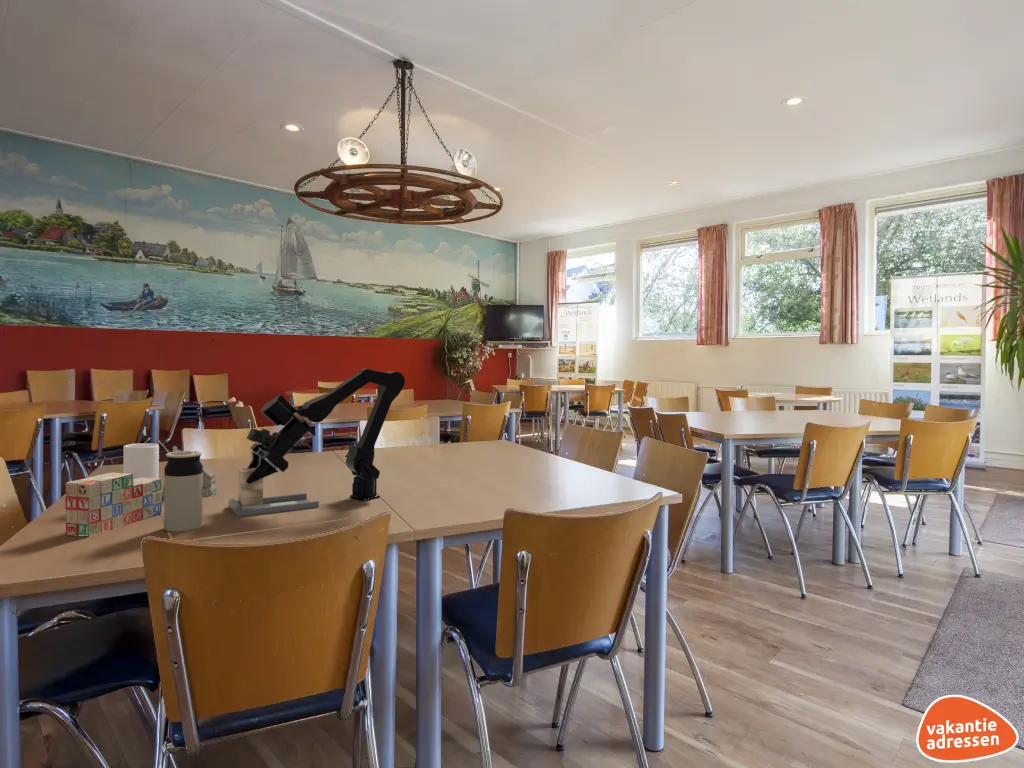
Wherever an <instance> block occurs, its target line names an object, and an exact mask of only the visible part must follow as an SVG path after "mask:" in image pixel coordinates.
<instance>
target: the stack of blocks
mask: <svg viewBox="0 0 1024 768" xmlns="http://www.w3.org/2000/svg"><path fill="white" fill-rule="evenodd" d="M162 493H163V490H162V478H159V479H156V478H137V479H133V474H128V473H123V472H107V473H102V474H98V475H94V476H90V477H86V478H81V479H76V480H70V481H67V482H65V500H64V501H65V502H64V503H65V521H66V522H65V535H66V534H72V535H88V536H90V535H93V534H96V533H99V532H103V531H107V530H110V531H112V530H111V529H113V530H115V529H114V528H117V529H119V528H118V527H120V528H122V527H121V526H123V527H125V526H128V525H131V524H134V523H137V522H139V521H140V522H141V521H143V520H145V519H149V518H153V517H155V516H158V515H159V516H160V515H161V514H162V513H163V512H162V511H163V510H162V509H163V508H162V507H163V506H162V504H163V503H162V502H163V497H162ZM136 521H137V522H136ZM133 522H134V523H133ZM130 523H131V524H130ZM127 524H128V525H127ZM124 525H125V526H124ZM107 532H108V531H107Z"/></svg>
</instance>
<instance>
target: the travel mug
mask: <svg viewBox="0 0 1024 768" xmlns="http://www.w3.org/2000/svg"><path fill="white" fill-rule="evenodd" d="M202 454H203V452H202V451H199V450H180V451H177V452H173V451H171V452H167V453H166V454H165V457H166V458H167V462H168V463H167V462H166V465H165V466H164V474H163V475H164V480H163V481H164V484H163V485H164V497H163V499H164V500H163V501H164V503H163V504H164V505H163V507H164V508H163V510H164V511H163V514H164V515H163V518H164V519H163V520H164V521H163V522H164V523H163V527H164V530H165V531H167V532H186V531H192V530H196V529H199V528H201V527H202V526H203V513H204V512H203V510H204V509H203V506H204V505H203V501H204V500H203V499H204V498H203V465H202V464H201V462H200V459H201V456H202Z"/></svg>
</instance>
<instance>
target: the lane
mask: <svg viewBox="0 0 1024 768" xmlns="http://www.w3.org/2000/svg"><path fill="white" fill-rule="evenodd" d="M307 497H308V496H307V492H301V493H294V494H293V493H291V494H284V495H274V496H267V497H264V496H263V504H260V505H251V506H242V505H241V504H240V503H239V499H237V500H236V499H235V498H234V497H231V498H229V500H228V508H229V509H230V511H231V512H232V513H233V514H235V516H236V517H238V518H242V517H243V518H244V517H251V516H257V515H267V514H273V513H275V514H276V513H281V512H282V513H283V512H289V511H298V510H306V509H315V508H319V507H320V501H319V500H314V501H311V500H309V499H308V498H307Z"/></svg>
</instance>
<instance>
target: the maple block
mask: <svg viewBox="0 0 1024 768" xmlns="http://www.w3.org/2000/svg"><path fill="white" fill-rule="evenodd" d="M254 470H255V468H248V467H246V468H239V469H238V500H239V503H240V504H241V505H242V506H251V505H260V504H263V498H264V478H262V479H259V480H257V481H255V482H253V483H250V484H248V483H247V482H246V480H247V479H248V478H249V476H250V475H251V474H252V472H253V471H254Z"/></svg>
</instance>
